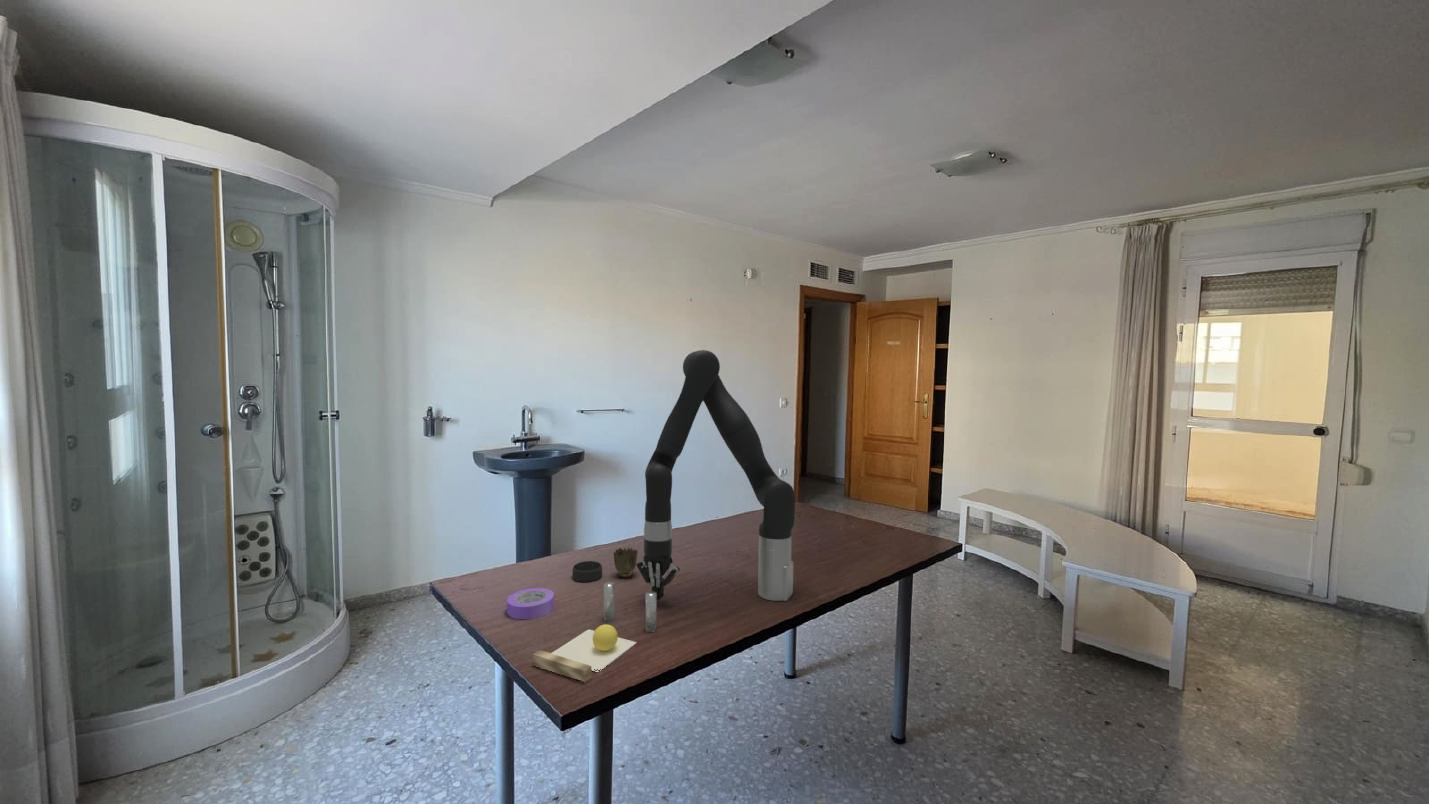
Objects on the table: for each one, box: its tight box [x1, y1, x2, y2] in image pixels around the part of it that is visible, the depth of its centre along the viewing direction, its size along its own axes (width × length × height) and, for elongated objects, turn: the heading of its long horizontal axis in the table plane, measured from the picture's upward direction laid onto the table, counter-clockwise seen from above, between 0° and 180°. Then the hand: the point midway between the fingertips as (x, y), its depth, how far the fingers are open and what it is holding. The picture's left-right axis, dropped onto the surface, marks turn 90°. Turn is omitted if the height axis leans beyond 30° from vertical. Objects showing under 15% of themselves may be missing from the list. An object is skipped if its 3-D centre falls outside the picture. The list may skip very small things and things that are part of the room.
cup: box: [612, 547, 638, 579], centre depth 160 cm, size 8×7×8 cm
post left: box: [603, 581, 615, 622], centre depth 131 cm, size 3×3×9 cm
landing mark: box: [550, 629, 637, 673], centre depth 116 cm, size 14×14×1 cm
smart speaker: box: [572, 560, 603, 583], centre depth 160 cm, size 9×9×4 cm
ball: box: [593, 623, 619, 651], centre depth 116 cm, size 6×6×6 cm
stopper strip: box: [532, 649, 592, 682], centre depth 107 cm, size 14×2×2 cm, turn 64°
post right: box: [644, 590, 657, 633], centre depth 126 cm, size 3×3×9 cm
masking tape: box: [506, 587, 555, 620], centre depth 136 cm, size 12×12×4 cm
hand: (657, 599), depth 140 cm, fingers closed
